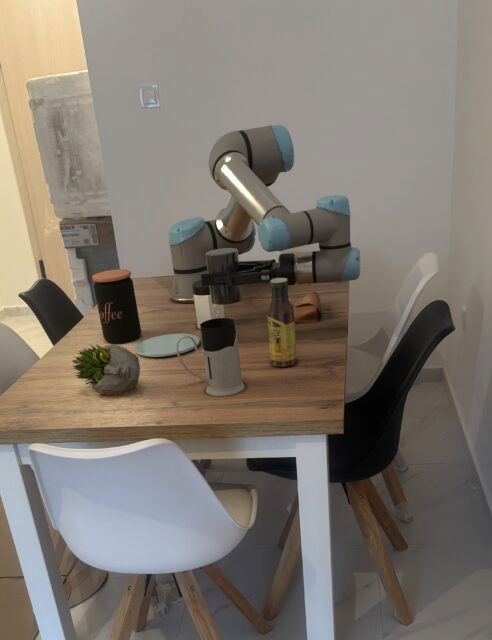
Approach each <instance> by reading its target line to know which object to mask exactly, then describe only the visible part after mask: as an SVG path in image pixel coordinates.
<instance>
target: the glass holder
mask: <svg viewBox="0 0 492 640" xmlns="http://www.w3.org/2000/svg"><path fill="white" fill-rule="evenodd" d="M200 328H201V329H200V335H201V342H202V350H198V346H197V345H196V342H195V340H194V339H193V338H192V337H190V336H183V337H181V338H180V339H179V340H178V341H177V344H176V350H177V354H176V355H177V358H178V360H179V362H180V363H181V365H182V367H183V368H184V369H185V370H186V371H187V372H189V373H190V374H191V375H194V376H196V377H198V378H199V379H201V380H203V381H204V382H205V386H206V389H205V393H206V394H208V395H210V396H214V397H226V396H227V397H228V396H231V395H235V394H238V393H240V392H242V391H243V390H245V388H246V387H245V384H244V382H243V378H242V368H241V360H240V350H239V342H238V333H237V329H236V322H235V319H234V318H230V317H225V318H216V319H211V320H207V321H205V322H203V323H201V324H200ZM183 338H190V339H192V341H193V342H194V346H195V348H194V351H195V352H196V353H197V354H202V356H203V364H204V372H205V378H204V377H203V376H201V375H199V374H197V373H195V372H194V371H192V370H191V369H189V368H188V367H187V366H186V365H185V363H184V361H183V360H182V357H181V355H180V354H181V353H180V354H179V350H178V345H179V342H180V341H181V340H182V339H183Z"/></svg>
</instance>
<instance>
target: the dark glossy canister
mask: <svg viewBox="0 0 492 640" xmlns="http://www.w3.org/2000/svg"><path fill="white" fill-rule="evenodd" d="M205 255H206V263H207V271H208V274H210V273H223V272H226V271H227V270H229V272H230V273H234V272H240V267H239V261H240V260H239V255H238V249H236V248H222V249H215V250H211V251H208V252H206V254H205ZM233 280H234V278H233ZM209 287H210V295H211V302H212V303H213V304H216V305H223V306H226V305H232V304H236V303H239V302H242V300H244V298H243V297H244V296H243V288H242V285H238V286H229V284H223V285H209Z"/></svg>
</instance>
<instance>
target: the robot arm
mask: <svg viewBox="0 0 492 640" xmlns="http://www.w3.org/2000/svg"><path fill="white" fill-rule="evenodd" d="M294 163H295V147H294V143H293V139H292V135H291V134H290V132H289V130H288V129H287V127H286V126H285V125H282V124H274V125H273V124H270V125H265V126H258V127H254V128H246V129H241V130H233V131H230V132H227V133H225V134H223V135H222V136H220V138H218V139H217V140H216V142H215V143H214V144H213V146H212V148H211V150H210V153H209V157H208V170H209V174H210V176H211V178H212V180H213V181H214V182H215V184H216V185H217V186H218V187H219V188H220V189H222V190H224V191H227V192H228V193H229V194H230V196H229V198H228V201H227V202H226V203H227V204H226V206H225V207H224V208H222V209H221V210H220V211H218V213H217V215H216V217H215V219H211V220H205V219H204V218H203V217H200V216H199V217H198V216H197V217H193V218H192V217H191V218H187V219H183V220H181V221H178V222H176V223H174V224H172V225H171V226H169V228H168V245H169V250H170V256H171V262H172V269H173V279H172V287H171V292H170V293H171V301H172V302H175V303H179V304H192V303H194V304H195V302H194V294H193V290H192V284H193V283H194V282H196V281H200V280H202V286H209V285H223V284H229V286H238V285H241V286H244V285H255V284H268V283H269V284H270V281H271V280H272V279H275V278H286V279H288V286H295V285H296V284H298V285H305V284H306V286H307V287H310V286H311V285H312V284H325V283H343V282H350V281H356V280H358V279H359V278H360V276H361V252H360V249H359V248H358V247H353V246H352V243H351V207H350V201H349V198H348V197H347V196H346V195H342V194H341V195H340V194H336V195H335V194H333V195H326V196H322V197H319V198H318V199H317V201H316V206H315V208H312V209H307V210H302V211H298V212H297V211H295V212H291V211H290V210H289V209H288V208H287V207H286V206H285V205H284V204H283V203H282V202H281V201H280V199H279V198H278V197H277V196H276V195H275V194H274V193H273V192H272V191H271V190H270V188H269V187H271V186H272V185H273V184H274V183H276V181H277V179H278V177H279V175H280V174H281V173H287V172H290V171H291V170H292V169H293V167H294ZM255 224H256V226H257V233H256V226H255ZM256 234H257V236H256ZM256 237H258V238H257V239H258V241H259V243H260V246H261V248H262V249H263V251H265V252H267V253H273V252H283V251H286V250H290V249H291V250H292V249H295V248H299V247H304V246H309V245H310V246H311V245H315V244H318V248H319V250H316V251H315V250H309V251H298V252H297V253H296V254H295V253H294V252H287V253H280V254H279V255H278V260H276V259H275V258H273V259H265V260H263V259H262V260H239V267H240V272H234V273H230V272H229V270H227V271H226V272H223V273H210V274H208V271H207V263H206V255H205V254H206V252H208V251H211V250H215V249H222V248H236V249H238V256H240V255H243V254H246V253H248V252H250V251H251V250H252V249H253V247H254V246H255V243H256ZM233 278H234V280H233Z"/></svg>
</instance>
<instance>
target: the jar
mask: <svg viewBox="0 0 492 640" xmlns="http://www.w3.org/2000/svg"><path fill="white" fill-rule="evenodd" d="M192 290H193V294H194V309H195V316H196V324H197V329H198V330H201V328H200V324H201V323H203V322H205V321H207V320H211V319H216V318H226V317H225V305H216V304H213V303H212V302H211V295H210V287H209V286H202V280H200V281H196V282H194V283H193V284H192Z"/></svg>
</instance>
